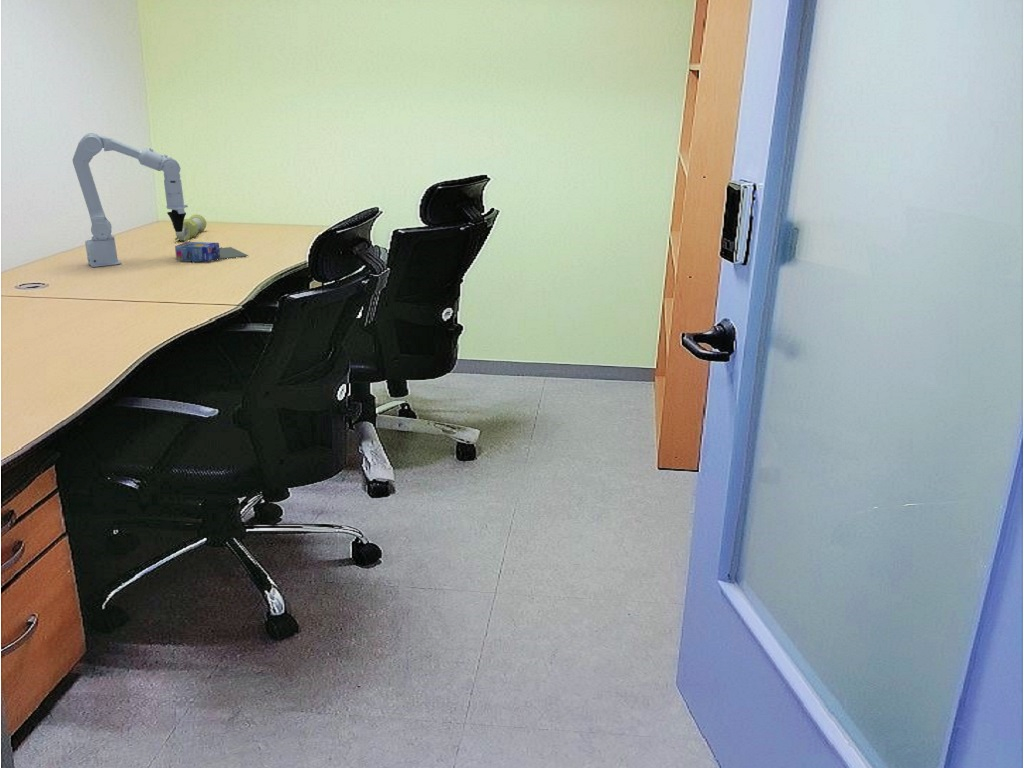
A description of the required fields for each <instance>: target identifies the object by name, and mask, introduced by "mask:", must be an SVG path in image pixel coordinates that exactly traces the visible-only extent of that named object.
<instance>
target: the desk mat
mask: <svg viewBox="0 0 1024 768" xmlns="http://www.w3.org/2000/svg"><path fill="white" fill-rule="evenodd" d="M220 248H221V247H220ZM219 250H220V256H219V257H217V258H215V259H213V260H214V261H218V260H217V259H223V260H228V259H227V258H232V259H237V258H236V257H241V258H247V257H246V256H248V257H249V254H247V253H244V252H242V251H240V250H237V248H233V247H232V246H228V247H222V248H221V249H219ZM193 262H196V263H201V262H200V261H192V262H191V263H193Z"/></svg>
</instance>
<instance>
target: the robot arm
mask: <svg viewBox="0 0 1024 768" xmlns="http://www.w3.org/2000/svg"><path fill="white" fill-rule="evenodd" d="M102 149H103V151H104V152H110V151H114V152H117V153H119V154H122V155H126V156H128V157H131V158H134V159H137V160H138V163H139V164H140V165H142V166H145V167H146V168H150V169H153V170H155V171H158V172H161V171H163V177H164V180H163V183H164V184H163V185H164V191H165V192H164V193H165V199H166V209H167V210H171V211H168V212H166V213H167V215H168V217H169V218H170V220H171V224H173V225H172V226H173V227H174V228H173V229H174V231H176V232H182V230H183V221H184V219H186V218H185V217H186V215H187V213H186V212H185V211H186V210H185V209H186V208H188V207H189V206H188V205H189V204H185V202H184V194H183V193H184V192H183V184H182V179H181V173H180V172H181V166H180V164H179V163H178V161H177V160H176V159H175V158H172V157H168V155H166V154H161V153H158V152H156V151H154V149H153V148H149V149H148V148H143V149H138V148H135V147H133V146H130V145H128V144H126V143H123V142H121V141H119V140H116V139H114V138H112V137H107V136H104V135H98V134H97V133H93V132H91V133H87V134H85V135H84V136H83V137H82V138H81V139H80V141H78V143H77V147H76V149H75V152H74V154H73V158H72V165H73V167H74V171H75V174H76V176H77V180H78V183H79V186H80V189H81V192H82V195H83V198H84V201H85V204H86V208H87V211H88V215H89V219H90V223H91V227H90V232H91V234H92V236H91V239H88V240H85V252H86V257H87V264H88V265H90V266H91V267H92V268H96V267H105V266H114V265H122V262H121V261H120V260H119V259H118V253H117V247H116V246H117V245H116V240H115V236H114V235H113V234H112V228H113V227H112V224H111V222H110V221H109V219H108V218H107V217H106V214H105V212H104V209H103V205H102V202H101V199H100V196H99V193H98V189H97V187H96V184H95V180H94V176H93V174H92V170H91V168H90V162H91V161H92V160H93V158H94V157H95V156H96V155H97V154H99V153H100V152H101V151H102ZM176 232H175V233H176Z"/></svg>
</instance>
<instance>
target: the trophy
mask: <svg viewBox="0 0 1024 768" xmlns="http://www.w3.org/2000/svg"><path fill="white" fill-rule="evenodd" d="M171 225H172V226H173V223H171ZM206 228H207V221H206V219H205V217H203V215H201V214H193V215H191V216H190V217H189V218H184V221H183V230H182V232H176V231H175V230H174V231H175V236H176V237H175V238H174V244H177V243H178V241H179V240H180V241H183V243H185V242H189V241H188V240H190V239H191V238H195V236H196V235H197V234H198V233H200V232H203V231H204V230H206ZM173 229H174V226H173ZM180 241H179V242H180ZM176 242H177V243H176Z"/></svg>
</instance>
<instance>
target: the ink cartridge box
mask: <svg viewBox="0 0 1024 768" xmlns="http://www.w3.org/2000/svg"><path fill="white" fill-rule="evenodd" d="M221 248H223V247H220V243H219V242H203V241H187V242H185V243H184V242H183V243H181V244H178V245H174V249H175V260H176V261H179V262H181V261H183V262H191V261H205V262H211V260H213V259H215V258H217V257H219V256H220V250H219V249H221Z"/></svg>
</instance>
